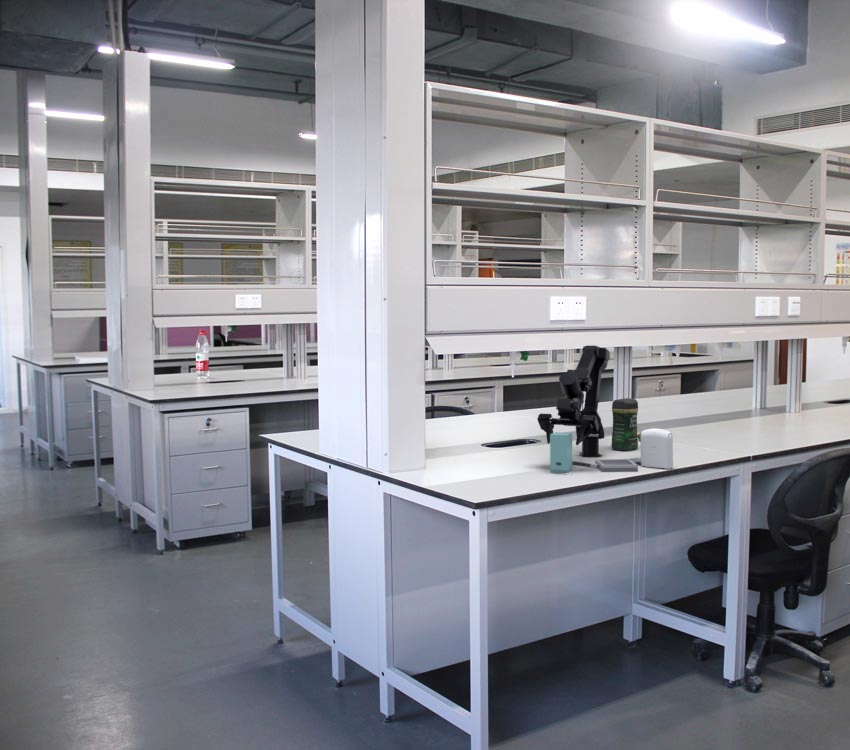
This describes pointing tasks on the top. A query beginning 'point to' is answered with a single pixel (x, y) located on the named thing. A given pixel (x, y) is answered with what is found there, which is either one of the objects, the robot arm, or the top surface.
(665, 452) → the photo printer
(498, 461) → the top surface
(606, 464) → the tray
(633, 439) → the coffee jar
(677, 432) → the top surface
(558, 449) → the charger
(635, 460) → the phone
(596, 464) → the pen
